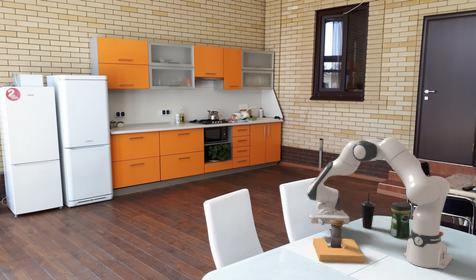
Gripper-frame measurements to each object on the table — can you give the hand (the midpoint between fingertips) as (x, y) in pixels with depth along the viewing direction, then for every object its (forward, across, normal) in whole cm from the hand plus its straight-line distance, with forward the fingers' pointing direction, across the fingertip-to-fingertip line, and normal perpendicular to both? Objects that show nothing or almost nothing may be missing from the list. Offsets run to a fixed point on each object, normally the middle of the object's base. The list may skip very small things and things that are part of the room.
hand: (332, 223), depth 198 cm
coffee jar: (-12, +39, +10) cm, 41 cm away
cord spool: (+10, 0, +10) cm, 14 cm away
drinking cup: (-23, +25, +10) cm, 36 cm away
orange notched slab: (+13, 0, +10) cm, 16 cm away
